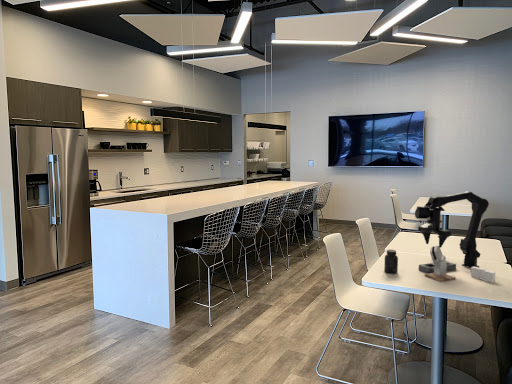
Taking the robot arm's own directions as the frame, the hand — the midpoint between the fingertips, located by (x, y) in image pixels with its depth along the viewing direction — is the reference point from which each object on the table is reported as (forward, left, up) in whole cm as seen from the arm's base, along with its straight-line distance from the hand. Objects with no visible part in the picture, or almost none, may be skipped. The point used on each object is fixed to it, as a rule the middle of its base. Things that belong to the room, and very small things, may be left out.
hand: (433, 245), depth 216 cm
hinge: (-12, -8, -12) cm, 19 cm away
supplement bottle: (+30, 0, -12) cm, 32 cm away
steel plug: (+13, +17, -11) cm, 24 cm away
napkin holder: (-5, +27, -13) cm, 30 cm away
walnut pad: (+13, +17, -12) cm, 25 cm away
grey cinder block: (+3, +6, -12) cm, 14 cm away
